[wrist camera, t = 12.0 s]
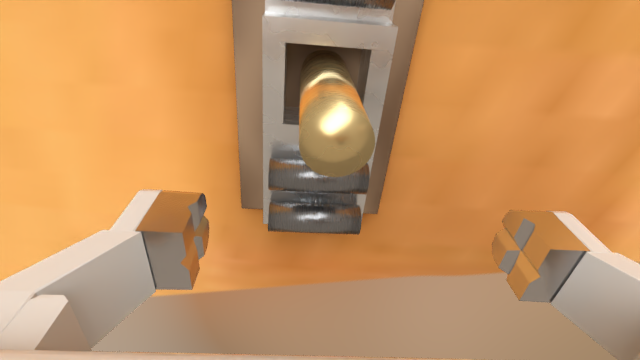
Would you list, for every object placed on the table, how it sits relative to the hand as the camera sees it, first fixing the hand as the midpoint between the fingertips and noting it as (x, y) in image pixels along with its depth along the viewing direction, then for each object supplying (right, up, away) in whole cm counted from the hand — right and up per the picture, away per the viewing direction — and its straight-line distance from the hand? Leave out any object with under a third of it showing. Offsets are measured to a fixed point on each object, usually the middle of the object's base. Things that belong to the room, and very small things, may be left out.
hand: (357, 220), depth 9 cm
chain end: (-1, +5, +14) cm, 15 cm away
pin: (-1, +8, +13) cm, 15 cm away
